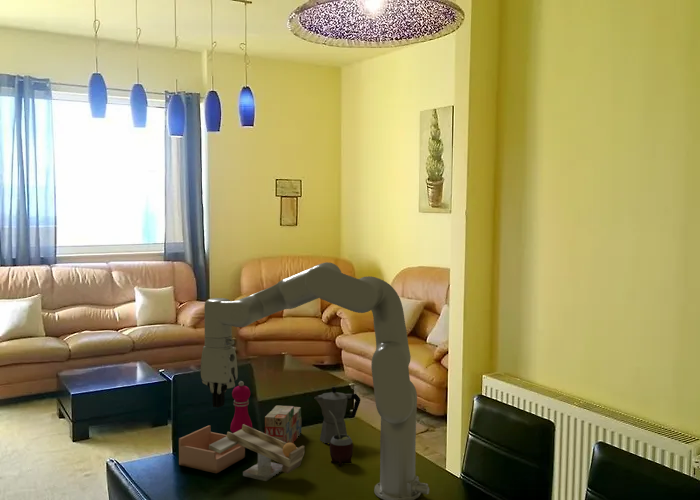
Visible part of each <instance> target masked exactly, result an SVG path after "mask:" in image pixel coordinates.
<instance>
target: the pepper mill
mask: <svg viewBox="0 0 700 500" xmlns="http://www.w3.org/2000/svg"><path fill="white" fill-rule="evenodd" d="M244 384H245V383H244V381H242V380H239V382H238V385H237V386H235V387H233V388H232V392H231V397H232V399H234V400H233V406H234V415H233V418H232V420H231V423H230V428H229V429H230V432H231V433H235V432H237V431H239V430H241V429H242V425H243V424H244V425H247V426H249V427H251V428H253V422H252V420H251V416H250V415H249V410H248V406H249V404H250V400H249V399H250V396H251V390H250V388H249V387H248V386H247V385H244Z"/></svg>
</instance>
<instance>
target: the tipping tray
mask: <svg viewBox="0 0 700 500" xmlns="http://www.w3.org/2000/svg"><path fill="white" fill-rule="evenodd" d="M226 435H227V436H226V437H224V438H222V439H220V440H218V441H216V442H214V443H212V444H210V445H209V449H211V450H213V451H215V452H218V453H222V452H224V451H225V450H227V449H229V448H231V447H233V446H235V445H237V444H239V445H241V446H243V447H245V449H248V450H250V451H252V452H255V453H257V454H258V453H259V454H261V455H263V456H265V457H268V458H270V459H271V461H273V462H275V463H276V462H277V463H278V464H283V466H282V471H281V472H283V473H285V474H289V473H291V472H292V471H295V470H296V469H297V468H298V467H300V466H301V463H302V460H303V457H304V456H305V445H303V444H302V445H301V446H298V447H297V446H296V448H297V449H296V450H294V451H292V452H291V453H289V457H286V456H285V455H284V454H283V446H284V445H285V444H286V443H285V442H283V441H281V440H279V439H276V438H274V437H272V436H269V435H267V434H265V432H263V431H260V430H257V429H256V428H254V427H252V428H251V427H249V426H247V425H244V424H243V425H242V429H241V430H239V431H237V432H235V433H232V432H231V431H227V432H226Z"/></svg>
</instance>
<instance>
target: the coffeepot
mask: <svg viewBox="0 0 700 500" xmlns="http://www.w3.org/2000/svg"><path fill="white" fill-rule="evenodd" d="M313 399H314V400H316V402H317V404H318V405H319V407H320V408H321V413H322V416H323V421H322V426H321V431H320V435H319V436H320V437H319V441H320V442H321V441H322V442H321V443H323V442H324V443H323V444H325V443H329V444H330V441H331V439H332V437H333V436H335V435H338V433H337V429H336V425H335V422H334V418H333V417H332V415H331V414H330V412H329V410H330V411H331V412H332V414H333V415H334V416H335V418H336V420H337V426H338V430H339V434H343V435H348V433H347V427H346V421H345V416H346V414H347V413H346V411H347V406H348V401H351V400H355V401H354V403H353V408H352V410H351V411H352V412H351V414H350V415H347V416H348V418H349V419H355V417H356V414H357V412H358V410H359V409H358V408H359V406H360V403H361V398H360V397H359V395H358V394H357V393H344V392H337V387H336V386H332V387H331V392H324V393H322V394H318V395H316V396H314V398H313ZM329 444H328V445H329Z"/></svg>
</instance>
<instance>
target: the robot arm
mask: <svg viewBox="0 0 700 500" xmlns="http://www.w3.org/2000/svg"><path fill="white" fill-rule="evenodd" d="M317 299H320V300H323V301H325V302H327V303H330V304H333V305H335V306H338V307H341V308H343V309H345V310H348V311H351V312H353V313H358V314H365V313H369V312H370V311H371V312H372V316H373V330H374V336H375V346H376V347H375V348H376V349H375V351H374V352H373V355H372V357H371V365H370V366H371V377H372V384H373V391H374V392H373V394H374V400H375V407H376V410H377V413H378V415H379V416H380V441H379V442H380V444H379V445H380V451H379V453H380V454H379V455H380V457H379V458H380V459H379V461H380V463H379V465H380V466H379V468H380V469H379V482H377V483H376V484H375V485H374V486H373V487H374V489H373V490H374V491H373V492H374V494H375V496H376V497H378V498H380V499H381V500H416V499H418V498H419V497H420V496H421V494H423V495H429V494H430V487H429V484H428V483H425V482H421V481H419V480H420V478H419V476H418V475H416V448H417V447H416V444H417V442H416V440H417V439H416V437H417V412H418V411H417V408H418V407H417V406H418V393H417V389H416V386H415V385H414V383H413V382H412V380H411V377H410V369H409V366H410V363H411V358H412V357H411V356H412V355H411V352H410V347H409V340H408V332H407V327H406V325H407V324H406V318H405V312H404V307H403V304H402V301H401V298H400V296H399V294H398V293H397V291H396V290H395V288H394V287H393V286H392V285H391V284H390V283H388V282H387V281H385V280H384V279H381V278H378V277H376V276H369V275H368V276H363V277H361V278H356V277H353V276H350V275H348V274H345V273H343V272H342V270H341V268H340V267H339V266H338V265H337V264H335V263H333V262H326V261H325V262H322V263H319V264H316V265H314V266H312V267H309V268H307V269H305V270H303V271H301V272H298V273H296V274H293V275H290V276H288V277H286V278H285V277H284V278H283V279H281V280H280V281H278V282H277V283H275V284H274V285H272V286H270V287H267V288H265V289H262V290H260V291H258V292H256V293H253V294H251V295H248V296H245V297H242V298H240V299H237V300H230V299H229V298H225V297H213V298H212V297H211V298H209V299H207V300H206V301H204V306H203V307H204V311H203V312H204V346H203V347H202V352H201V359H200V378H201V382H202V384H204V385H206V386H207V387H208V388H209V390H210V393H211V394H212V407H213V408H221V407H223V406H224V405H225V401H226V400H225V395H226V394H225V393H226V392H227V390H228V389H234V388H235V387H236V383H235V381H237V380H238V375H239V372H238V361H237V354H236V349H235V346H233V345H234V344H235V340H234V339H233V337H232V336H233V334H232V330H233V327H235V328H246V327H247V326H249V325H251V324H253V323H255V322H257V321H259V320H261V319H264V318H266V317H269V316H271V315H273V314H276V313H280V312H281V311H285V310H293V309H296V308H298V307H300V306H302V305H305V304H308V303H311V302H312V301H316V300H317Z"/></svg>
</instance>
